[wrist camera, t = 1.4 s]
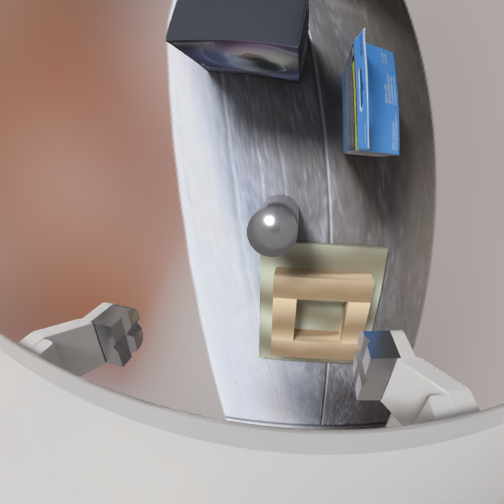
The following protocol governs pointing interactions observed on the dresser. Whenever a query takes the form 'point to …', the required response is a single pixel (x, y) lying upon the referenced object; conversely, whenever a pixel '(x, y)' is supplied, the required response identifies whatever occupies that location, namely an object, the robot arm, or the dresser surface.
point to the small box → (243, 35)
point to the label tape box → (370, 101)
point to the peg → (274, 226)
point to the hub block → (319, 300)
